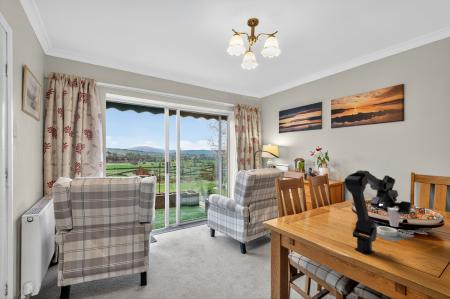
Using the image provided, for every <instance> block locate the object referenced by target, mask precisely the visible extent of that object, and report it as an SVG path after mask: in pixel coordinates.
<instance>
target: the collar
mask: <svg viewBox="0 0 450 299" xmlns="http://www.w3.org/2000/svg"><path fill="white" fill-rule="evenodd" d="M376 228H377V233H379V234H381V235H384V236H391V237H395V236H397V231H398V230H397V229H396V228H393V227H389V226H383V225H381V226H380V225H379V226H377V227H376Z"/></svg>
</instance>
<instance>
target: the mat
mask: <svg viewBox="0 0 450 299" xmlns="http://www.w3.org/2000/svg"><path fill="white" fill-rule="evenodd" d="M376 229H377V227H376ZM402 232H403V231H400V232H397V236H395V237H391V236H384V235H381V234H379V233H377V234H376V238H381V239H383V240H386V241H389V242H392V243H395V242H398V241H399V242H400V241H403V240H406V239H411V238H413V237H414V235H413V234H409V233H407V234H406V232H403V233H402Z"/></svg>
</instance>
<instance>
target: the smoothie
mask: <svg viewBox="0 0 450 299" xmlns="http://www.w3.org/2000/svg"><path fill="white" fill-rule="evenodd" d="M398 209H399V208H398V207H395V206H394V208H389V207H387V210H388V212H387V214H388V222H389V225H390V226H391V227H397V228H398V227H399V224H400V217H401V215H400V214H399V213H398V212H397V211H398Z"/></svg>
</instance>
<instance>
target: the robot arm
mask: <svg viewBox="0 0 450 299" xmlns="http://www.w3.org/2000/svg"><path fill="white" fill-rule="evenodd" d="M395 183H396V179H395V178H393V177H391V176H390V175H384V176H383V178H382V179H380V178H377V176H375V175H373V174H371V173H370V171H368V170H362V169H361V170H357V171H355V172H353V173H350V174H348V175H347V176H346V177H345V178H344V185H345V187H346V190H347V191H348V192H349V193H350V194H351V197H352V200H353V205H354V209H355V213H356V217H357V221H356V223H355V227H354V229H353V230H352V237H353V238H356V247H354V250H355V251H356V252H360V253H362V254H363V255H370V254H374V253H376V251H375V250H374V249H373V244H372V243H373V242H375V241H377V240H376V239H377V236H376V234H377V229H376V228H377V227H376V223H375V220H374V219H371V218H370V216H369V212H368V208H367V202H366V199H365V193H364V191H365V190H366V188H367V185H368V184H369V187H370V188H371V190H372V191H376V195H375V196H373V197H372V198H371V200H370V203H369V204H370V206H371V207H372V208H377V209H379V210H381V211H383V212H385V213H388V210H387V208H394V206H395V208H397V209H398V211H397V212H398V213H399V214H400V216H403V214H410V212H411V210H412V208H413V204H412V202H409V201H405V200H402V201H399V202H397V201H398V199H397V198H398V197H399V193H398V190H397V189H394V187H395V186H394V185H395Z"/></svg>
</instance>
